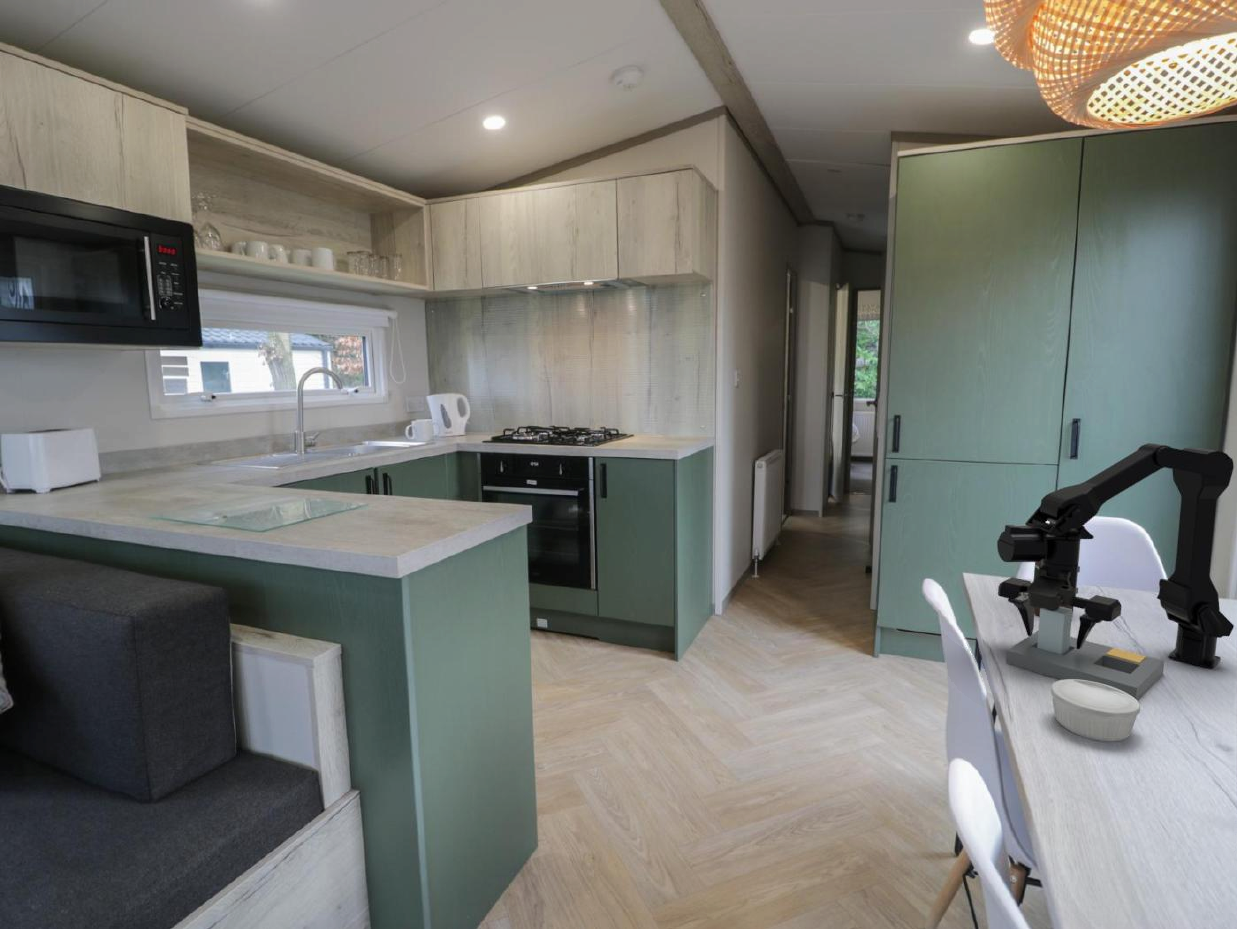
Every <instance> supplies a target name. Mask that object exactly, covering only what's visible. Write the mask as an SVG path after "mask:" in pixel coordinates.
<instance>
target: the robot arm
mask: <svg viewBox="0 0 1237 929" xmlns="http://www.w3.org/2000/svg"><path fill="white" fill-rule="evenodd" d="M1234 464H1235V463H1234V460H1233V458H1231V456H1229V455H1228V454H1227V453H1225V452H1223V451H1219V450H1213V449H1205V448H1199V447H1191V446H1189V447H1185V448H1183V449H1179V448H1175V447H1171V446H1169V445H1165V444H1160V443H1159V444H1158V443H1150V442H1149V443H1145V444H1142V445H1141V446H1140V447H1138V448H1137V450H1136V451H1133V452H1132V453H1131V454H1129V455H1127V456H1126V457H1124V458H1122V459H1120V460H1119V461H1117V462H1116V463H1114V464H1113V465H1111V466H1109V467H1107V468H1105V469H1104V470H1102V471H1101V472H1099V473H1097V474H1096V475H1093V476H1092V477H1091V478H1089V479H1087V480H1086V481H1083V482H1081V483H1078V484H1074V485H1068V486H1065V487H1062V488H1059V489H1057V490H1054V491H1052V492H1050V493H1047V494H1046V495H1045V496H1043V497H1042V498H1041V501H1040V505H1039V506H1038V508H1037V509H1036V510H1035V511H1034V513H1033V514H1032V515H1031V516H1030V517H1029V518H1028V519H1027V521H1026V522H1025V523H1024V524H1025V525H1014V524H1006V525H1005V526H1004V531H1003V532H1001V533H1000V534H999V537H998V539H997V542H996V543H997V544H996V547H997V548H996V549H997V553H998V555H999V557H1000V560H1002V561H1003V562H1004V563H1035V562H1039V561H1041V560H1042V565H1041V566H1040V567H1039V570H1038V575H1037V577H1036V579H1035V580H1034V579H1033V581H1030V580H1027V579H1023V578H1017V577H1010V578H1007V579H1005V580H1003V581H1002V582H999V585H998V588H997V596H999V597H1002V598H1005V599H1007V601H1008V603H1011V604H1012V605H1014V606H1015V607H1016V608H1017V610H1018V612H1019V615H1020V616H1021V620H1022V622H1023V625H1024V628H1025V631H1026V635H1027V637H1029V636H1031V635H1032V634H1033V633H1034V626H1035V607H1040V608H1044V609H1047V610H1049V611H1056V610H1058V609H1059V607H1060V605H1062V606H1063V605H1066V606H1073V608H1078V609H1083V610H1084V613H1083V614H1081V615H1080V616H1078V617H1079V618H1078V620H1079V628H1078V632H1077V637H1076V638H1077V649H1080V648H1081V647H1082V645H1083V643H1084V642H1085V641H1087V638H1088V636H1089V634H1090V633H1091V631H1092V630H1093V628H1094V627H1095V625H1096V624H1099V623H1101V622H1103V621H1104V622H1113V621H1114V620H1115V619H1117V618H1118V617H1120V616H1121V615H1122V607H1123V606H1122V603H1121V602H1120V600H1119V599H1116V598H1113V597H1107V596H1102V595H1098V594H1095V595H1094V596H1092V597H1090V598H1086V597H1085V598H1084V597H1080V596H1077V595H1078V594H1079V587H1077V586H1078V574H1079V573H1080V570H1081V566H1079V562H1080V550H1081V549H1080V548H1081V540H1093V539H1094V537H1095V536H1094V535H1093V534H1092V533H1090V532H1089V531H1088V530H1087V529H1086V528H1085V525H1086V524H1087V523H1088V522H1089V521H1090V520H1092V519H1094V517H1095V516H1097V515H1098V513H1099V511H1100V510H1101V507H1102V506H1103V505H1104V504H1105V503H1107V502H1108V501H1109V500H1111V499H1113V498H1114V497H1116V496H1118V495H1119V494H1121V493H1123V492H1125V491H1126V490H1128V489H1130V488H1131V487H1133V486H1135V485H1136V484H1138V483H1140V482H1142V481H1143V480H1144V479H1146V478H1149V477H1150V476H1152V475H1153V474H1155V473H1157V472H1158V471H1160V470H1162V469H1164V468H1165V469H1171V470H1172V479H1173V482H1174V485H1176V486H1175V487H1176V488H1177V491H1178V492H1179V495H1180V498H1181V500H1180V510H1179V521H1178V534H1177V542H1176V543H1177V544H1176V554H1175V566H1174V567H1175V568H1174V572H1173V573H1172V574H1171V575H1170V576H1169V577H1168V578H1166V579H1165V578H1160V579H1159V581H1158V582H1159V583H1158V586H1159V591H1158V594H1157V597H1156V599H1157V600H1158V601H1159V600H1160V601H1159V602H1160V606H1161V608H1162V609H1163V610H1164V611H1165V614H1166V616H1167V617H1166V618H1167V619H1168V620H1169V621H1170V622H1171V621H1172V622H1174V623H1177V631H1176V639H1175V640H1176V641H1175V648H1174V649H1173V650H1172V651H1171V652H1170V653H1169V654H1168V658H1169V659H1172V660H1176V661H1180V662H1184V663H1188V664H1192V665H1196V666H1201V667H1202V668H1208V669H1215V667H1216V666H1217V665H1218V663H1219V662H1220V661H1221V656H1219V655H1216V650H1217V643H1218V639H1219V638H1221V639H1222V637H1230V635H1231V633H1232V632H1233V629H1234V627H1235V625H1234V623H1232V622H1231V621H1230V620H1229V619H1228V618H1227V617H1226V616H1225V614H1223V613H1222V612H1221V609H1220V599H1219V592H1218V591H1217V589H1216V586H1215V585H1214V584H1215V583H1213V581H1212V579H1211V575H1210V573H1211V566H1212V554H1213V543H1214V535H1215V534H1214V532H1215V525H1216V524H1215V522H1216V512H1217V502H1218V499H1219V498H1220V496H1222V494H1223V493H1224V492H1225V491H1226V490H1227V488H1229V486H1230V482H1231V479H1232V475H1233V472H1234V467H1235V465H1234ZM1049 522H1052V523H1054V525H1051V524H1049Z"/></svg>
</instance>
